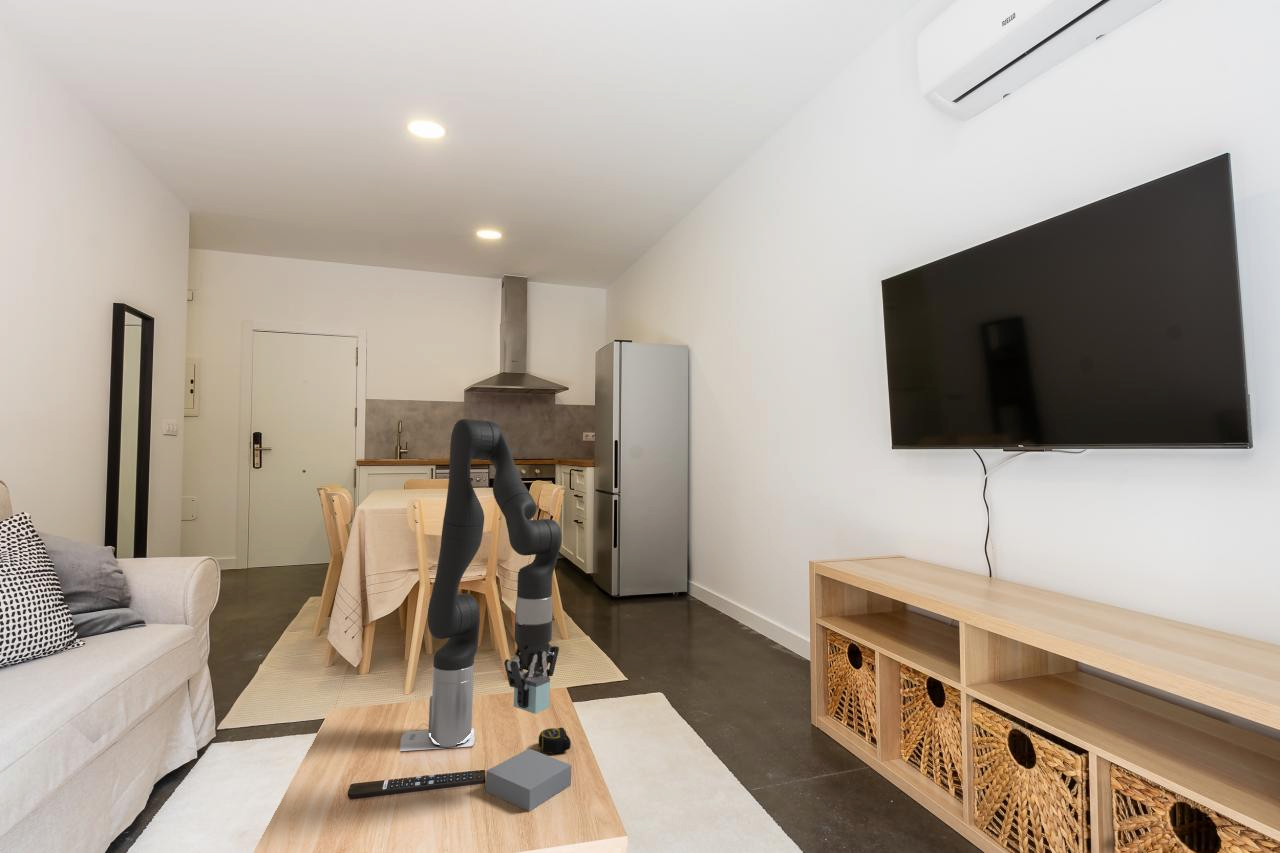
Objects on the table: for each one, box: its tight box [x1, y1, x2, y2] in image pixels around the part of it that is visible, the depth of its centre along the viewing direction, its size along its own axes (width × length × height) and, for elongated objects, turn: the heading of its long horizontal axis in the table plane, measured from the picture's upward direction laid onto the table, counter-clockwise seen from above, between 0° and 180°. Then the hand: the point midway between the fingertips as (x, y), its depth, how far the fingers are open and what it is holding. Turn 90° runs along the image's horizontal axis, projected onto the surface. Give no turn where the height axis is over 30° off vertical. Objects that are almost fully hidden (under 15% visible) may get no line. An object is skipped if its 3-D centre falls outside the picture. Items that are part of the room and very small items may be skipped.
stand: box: [485, 748, 572, 812], centre depth 128 cm, size 12×12×4 cm
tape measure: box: [538, 727, 572, 754], centre depth 145 cm, size 7×7×4 cm
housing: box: [513, 672, 551, 715], centre depth 129 cm, size 6×4×6 cm, turn 56°
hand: (531, 703), depth 129 cm, fingers closed on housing, 4 cm apart
